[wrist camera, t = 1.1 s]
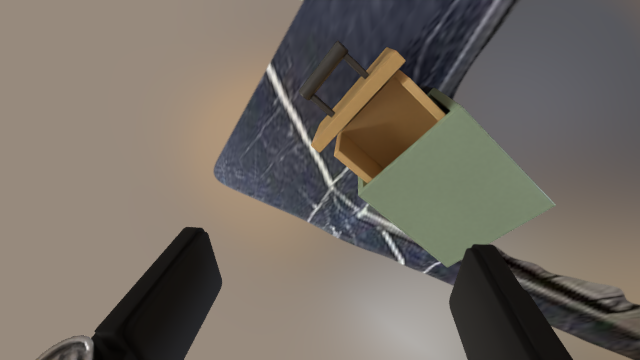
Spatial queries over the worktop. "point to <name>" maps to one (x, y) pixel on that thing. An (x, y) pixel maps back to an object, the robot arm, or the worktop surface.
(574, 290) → the worktop surface
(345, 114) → the wooden pull-out drawer
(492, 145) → the green box
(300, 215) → the worktop surface
